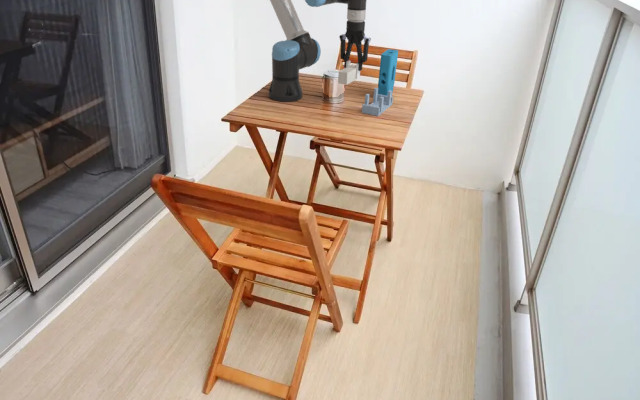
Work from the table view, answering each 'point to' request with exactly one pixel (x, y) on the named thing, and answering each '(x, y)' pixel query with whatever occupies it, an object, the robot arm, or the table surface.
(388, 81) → the block
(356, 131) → the table surface
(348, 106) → the table surface
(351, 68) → the white rectangular bar
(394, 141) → the table surface
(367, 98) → the rack
